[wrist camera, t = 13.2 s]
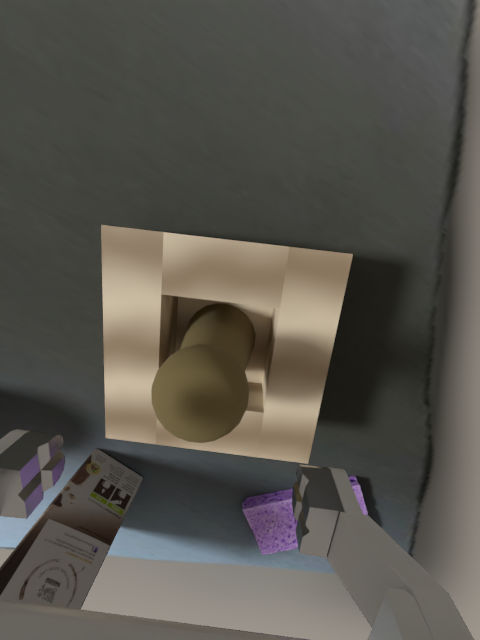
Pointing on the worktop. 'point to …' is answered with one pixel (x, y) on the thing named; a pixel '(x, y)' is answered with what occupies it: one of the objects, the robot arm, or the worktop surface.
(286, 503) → the sponges
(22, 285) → the worktop surface
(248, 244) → the socket block
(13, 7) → the worktop surface
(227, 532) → the worktop surface
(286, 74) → the worktop surface
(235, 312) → the olive chess pawn
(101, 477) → the coffee box
